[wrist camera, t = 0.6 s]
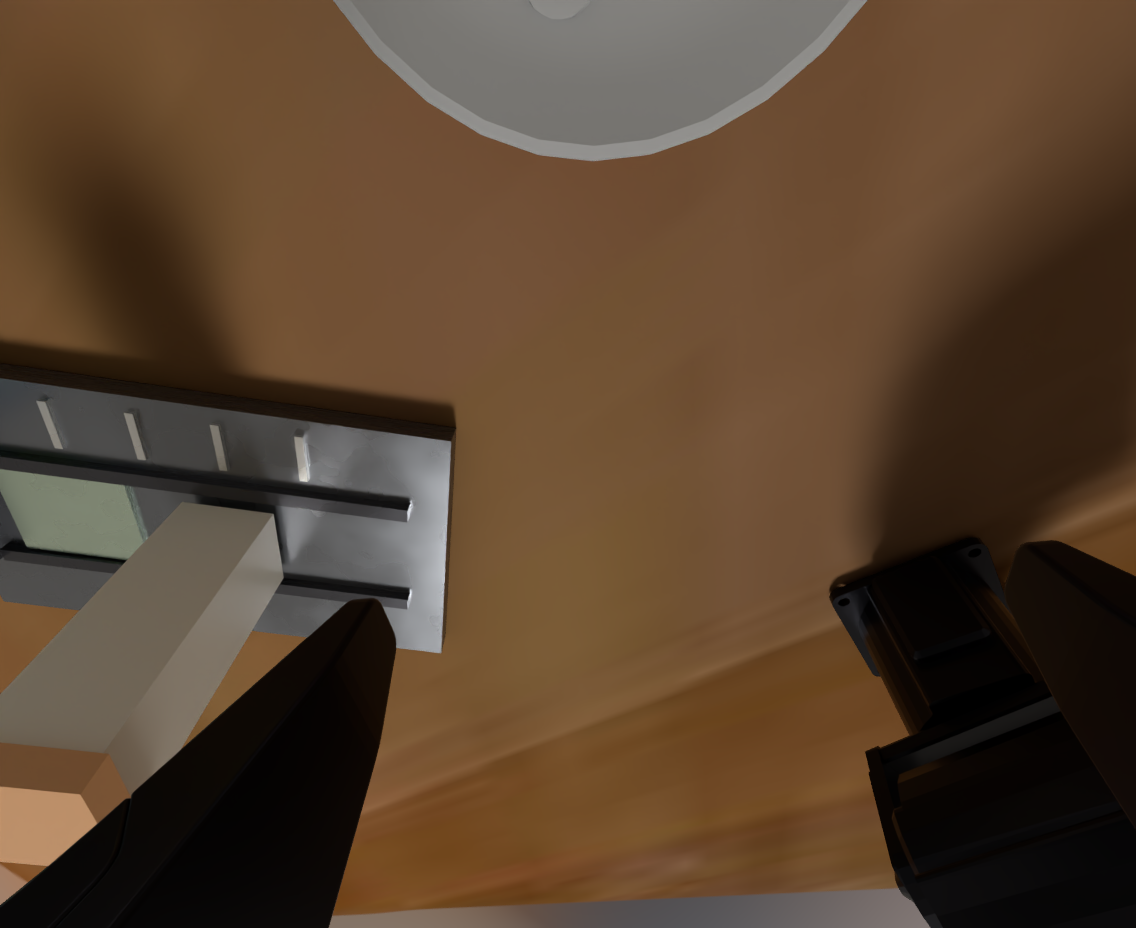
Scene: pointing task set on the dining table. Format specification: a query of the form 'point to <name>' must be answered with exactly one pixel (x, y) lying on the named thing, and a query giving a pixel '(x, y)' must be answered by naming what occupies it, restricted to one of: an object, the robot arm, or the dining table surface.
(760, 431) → the dining table surface
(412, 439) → the plate
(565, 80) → the canned food
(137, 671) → the fader knob
